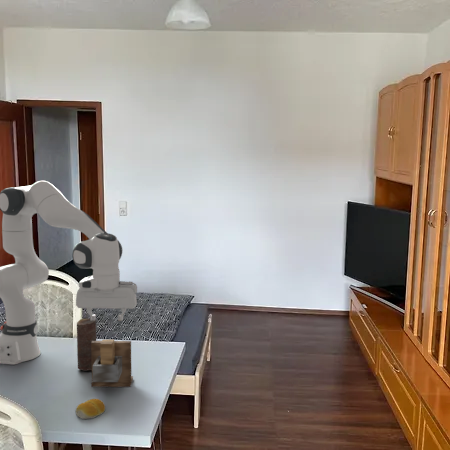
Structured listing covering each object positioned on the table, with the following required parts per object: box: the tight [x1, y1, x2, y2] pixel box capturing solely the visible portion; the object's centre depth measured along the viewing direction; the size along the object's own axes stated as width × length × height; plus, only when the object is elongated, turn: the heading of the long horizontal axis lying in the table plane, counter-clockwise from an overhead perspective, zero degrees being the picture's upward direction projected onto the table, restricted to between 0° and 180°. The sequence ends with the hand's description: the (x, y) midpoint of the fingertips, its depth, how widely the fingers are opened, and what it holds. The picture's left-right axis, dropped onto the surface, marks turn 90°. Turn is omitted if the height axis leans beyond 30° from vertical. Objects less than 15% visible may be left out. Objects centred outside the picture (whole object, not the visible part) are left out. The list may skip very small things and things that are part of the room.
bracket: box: [91, 340, 134, 388], centre depth 173 cm, size 14×15×16 cm
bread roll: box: [75, 398, 106, 420], centre depth 158 cm, size 8×9×4 cm
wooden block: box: [100, 339, 115, 365], centre depth 169 cm, size 4×4×12 cm
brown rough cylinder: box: [76, 318, 97, 372], centre depth 188 cm, size 8×7×20 cm
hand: (106, 320), depth 167 cm, fingers open, 8 cm apart
